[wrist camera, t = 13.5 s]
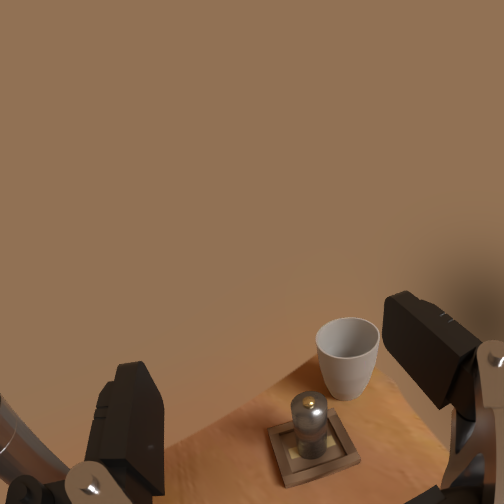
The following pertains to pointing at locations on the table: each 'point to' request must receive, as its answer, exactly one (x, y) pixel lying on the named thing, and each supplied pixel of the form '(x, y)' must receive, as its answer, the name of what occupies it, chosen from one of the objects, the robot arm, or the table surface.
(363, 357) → the cup
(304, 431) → the cell
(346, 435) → the bay
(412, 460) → the table surface
